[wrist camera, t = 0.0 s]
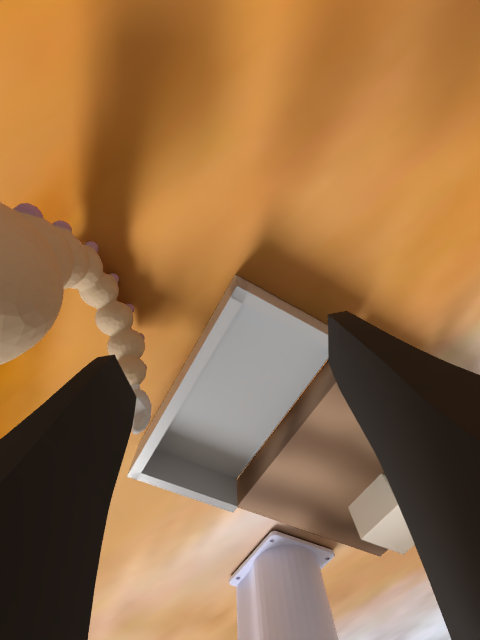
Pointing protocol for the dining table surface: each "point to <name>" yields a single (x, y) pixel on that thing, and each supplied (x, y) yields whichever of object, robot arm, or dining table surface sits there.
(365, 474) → the board
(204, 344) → the tray
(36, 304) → the toy
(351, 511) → the tile
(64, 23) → the dining table surface
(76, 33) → the dining table surface
